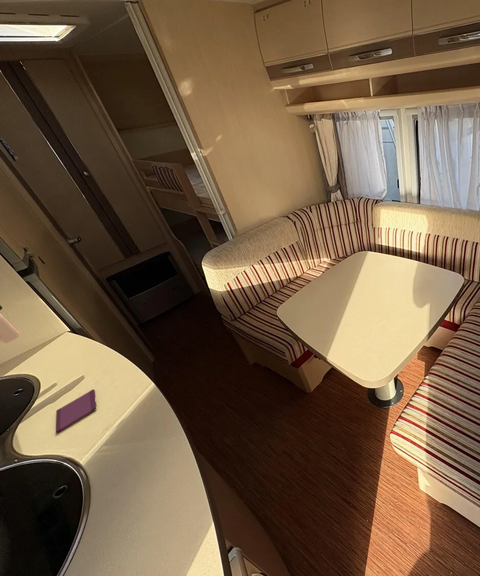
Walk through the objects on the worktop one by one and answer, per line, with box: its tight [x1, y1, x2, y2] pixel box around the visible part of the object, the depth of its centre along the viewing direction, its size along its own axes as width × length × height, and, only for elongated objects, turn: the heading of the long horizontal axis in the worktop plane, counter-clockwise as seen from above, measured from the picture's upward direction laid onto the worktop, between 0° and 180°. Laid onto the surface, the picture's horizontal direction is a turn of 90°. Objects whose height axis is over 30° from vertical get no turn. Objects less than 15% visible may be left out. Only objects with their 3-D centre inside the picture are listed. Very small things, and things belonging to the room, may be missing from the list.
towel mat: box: [55, 388, 97, 434], centre depth 86 cm, size 9×9×1 cm
